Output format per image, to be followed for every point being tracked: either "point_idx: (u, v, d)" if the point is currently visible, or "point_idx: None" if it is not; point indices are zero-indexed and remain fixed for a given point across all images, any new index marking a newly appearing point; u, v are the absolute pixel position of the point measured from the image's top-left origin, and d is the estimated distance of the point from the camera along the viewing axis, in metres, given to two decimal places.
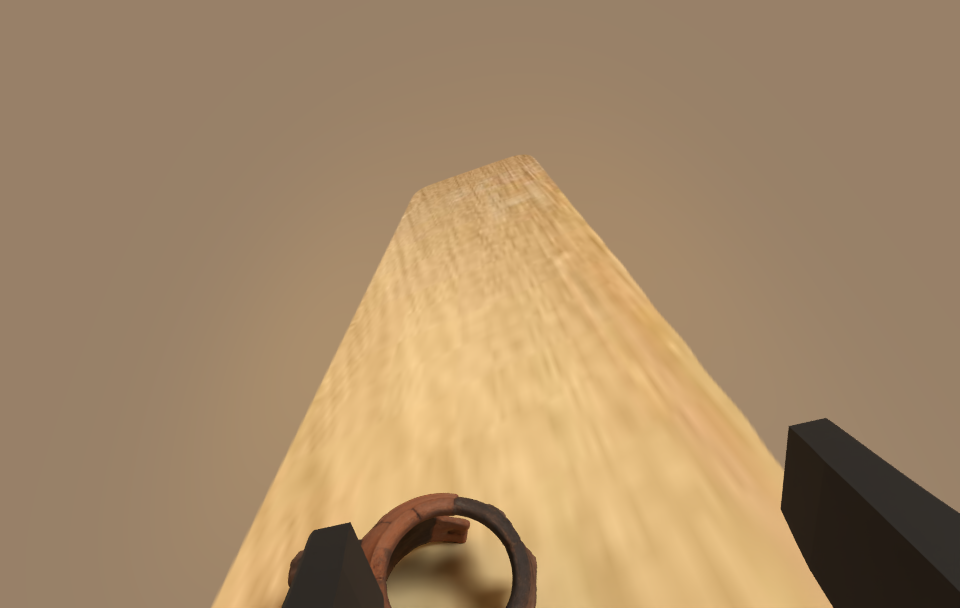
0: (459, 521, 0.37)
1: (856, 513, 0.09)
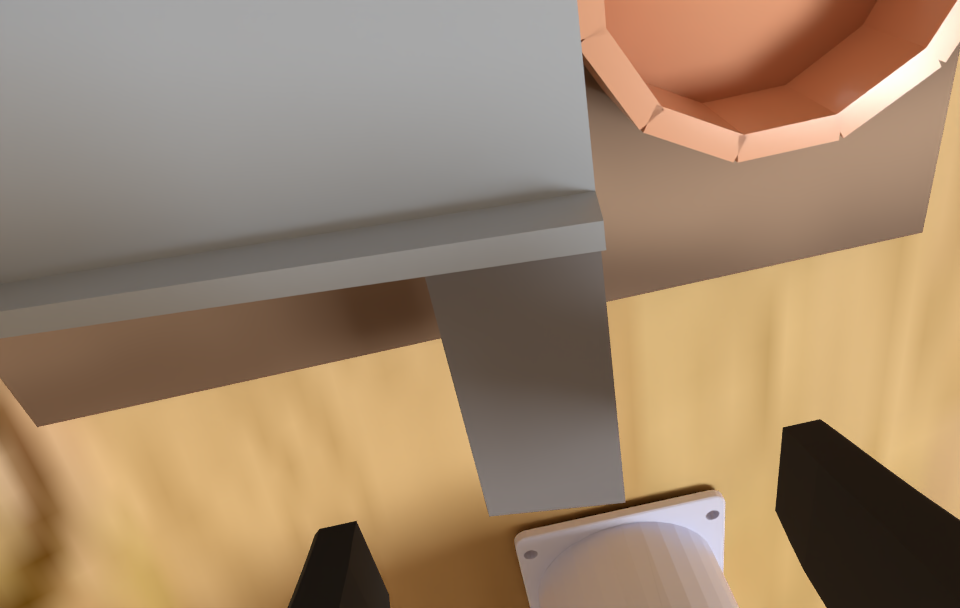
0: None
1: (849, 514, 0.09)
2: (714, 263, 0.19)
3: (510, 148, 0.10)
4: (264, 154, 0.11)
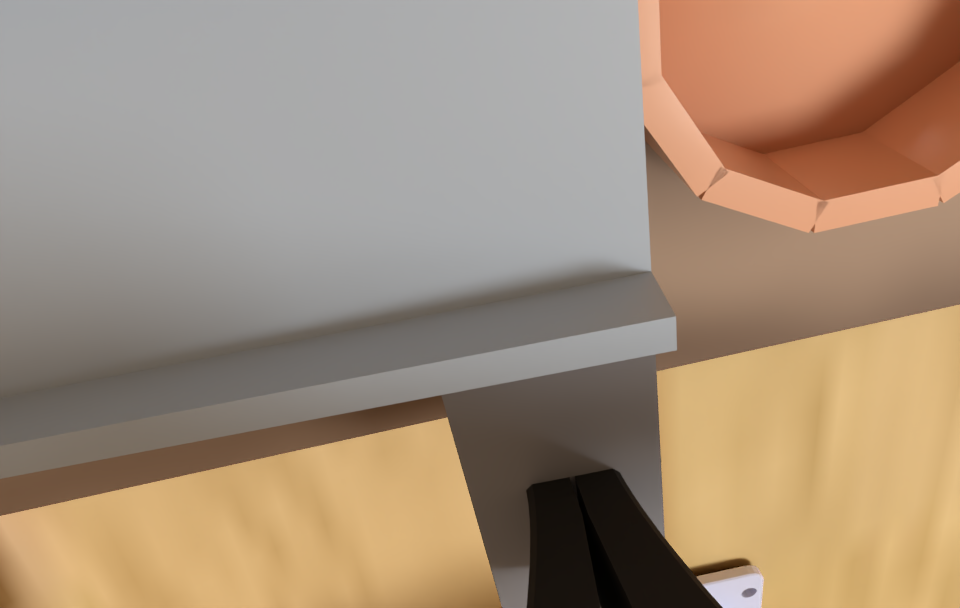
0: None
1: (608, 567, 0.09)
2: (766, 331, 0.16)
3: (548, 226, 0.08)
4: (229, 247, 0.08)
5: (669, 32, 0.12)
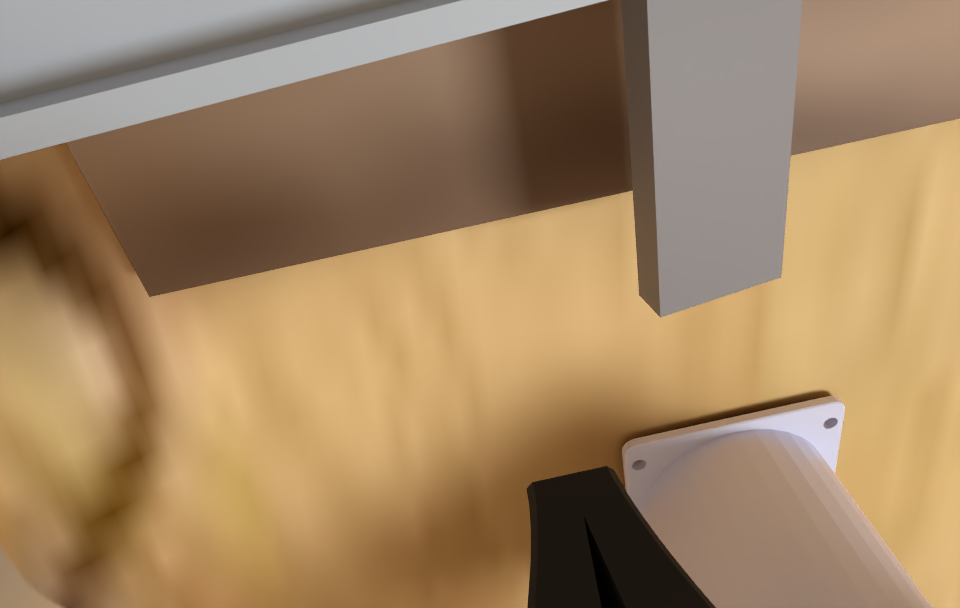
0: None
1: (603, 568, 0.09)
2: (877, 119, 0.18)
3: None
4: None
5: None
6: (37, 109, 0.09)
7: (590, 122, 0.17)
